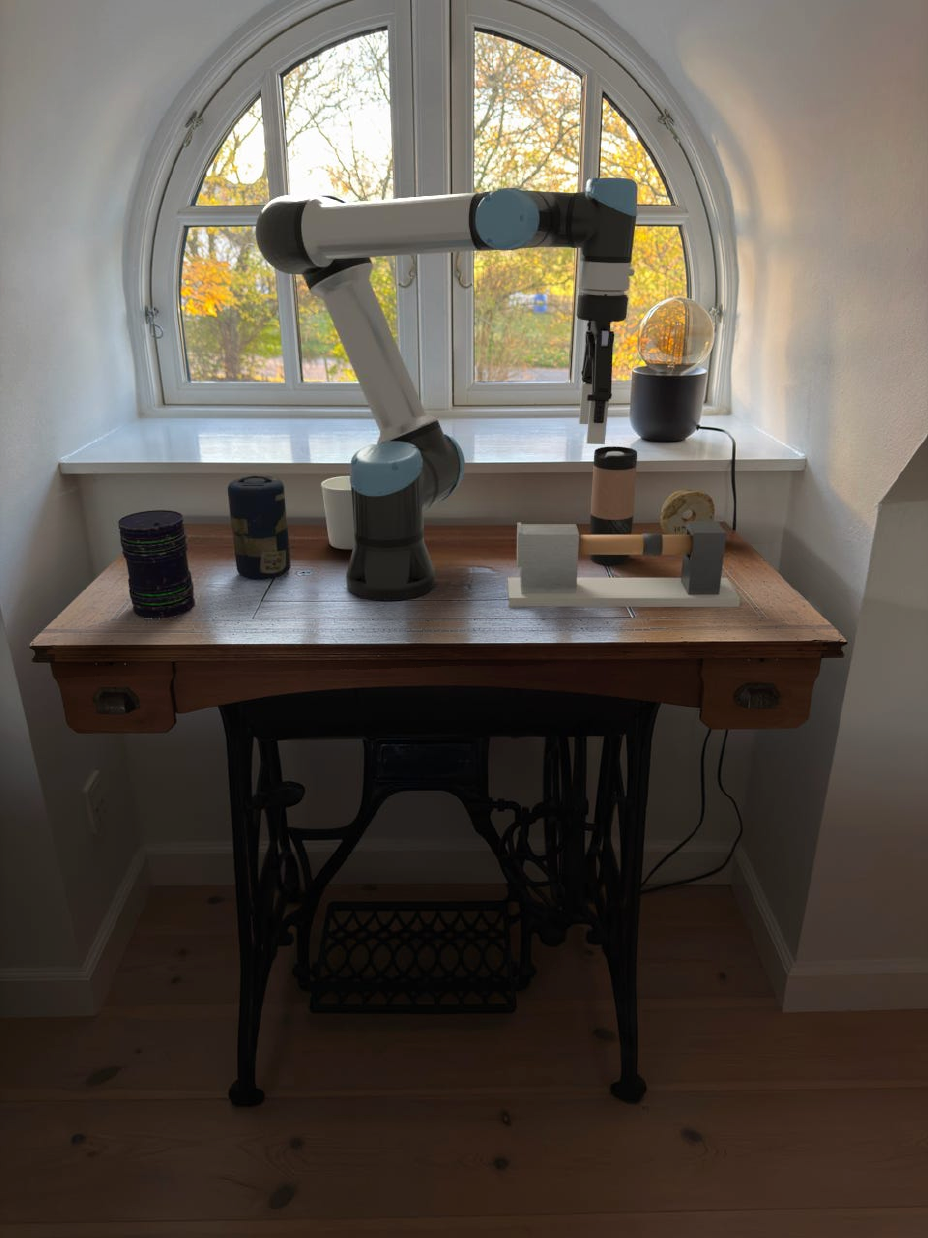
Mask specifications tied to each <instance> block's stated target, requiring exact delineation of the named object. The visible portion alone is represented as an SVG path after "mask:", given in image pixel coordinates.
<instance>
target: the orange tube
mask: <svg viewBox="0 0 928 1238" xmlns="http://www.w3.org/2000/svg"><path fill="white" fill-rule="evenodd" d="M691 546H692V535H667V534H662V533H656V532H655V533H644V532H643V533H641V534H631V535H590V534H579V547H578V556H579V555H584V556H585V555H586V556H587V555H588V556H590V555H629V556H630V555H636V556H637V555H641V556H643V557H648V556H649V557H655V556H656V557H660V556H663V555H668V556H669V555H670V556H671V555H673V556H675V555H676V556H677V555H682V556H683V555H691Z"/></svg>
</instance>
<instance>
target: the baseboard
mask: <svg viewBox="0 0 928 1238" xmlns="http://www.w3.org/2000/svg"><path fill="white" fill-rule="evenodd" d="M507 595H508V596H507V597H508V600H507V602H508V607H511V608H512V607H513V608H514V607H525V608H526V607H527V608H529V607H531V608H534V607H538V608H539V607H550V608H551V607H554V608H556V607H562V608H563V607H564V608H565V607H569V608H570V607H572V608H573V607H575V608H576V607H577V608H579V607H582V608H583V607H584V608H585V607H589V608H590V607H592V608H599V607H600V608H601V607H602V608H603V607H605V608H607V607H610V608H611V607H612V608H614V607H615V608H619V607H621V608H622V607H623V608H625V607H626V608H627V607H628V608H630V607H631V608H633V607H635V608H638V607H639V608H641V607H644V608H646V607H647V608H649V607H651V608H654V607H655V608H657V607H658V608H659V607H660V608H667V607H668V608H673V607H675V608H676V607H677V608H682V607H683V608H740V604H741V597H740V596H739V594H738V593H737V592H736V589H735V588H734V587H733V585H732V584H731V582H730V580H728V578H727V577H721V584H720V592H719V595H688V594H687V592H686V590H685V588H684V586H683V584H682V582H681V577H577V590H576V594H534V593H521V589H520V577H507Z"/></svg>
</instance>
